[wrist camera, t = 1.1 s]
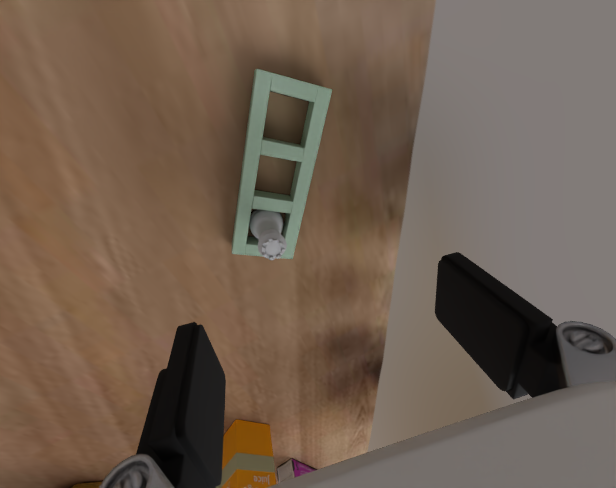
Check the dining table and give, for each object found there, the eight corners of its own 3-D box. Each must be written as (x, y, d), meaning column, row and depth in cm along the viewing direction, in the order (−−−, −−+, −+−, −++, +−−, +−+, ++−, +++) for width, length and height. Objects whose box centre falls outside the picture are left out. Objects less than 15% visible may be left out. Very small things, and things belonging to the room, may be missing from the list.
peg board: (231, 244, 39) (231, 254, 37) (254, 69, 31) (256, 68, 28) (289, 250, 42) (292, 259, 39) (325, 89, 33) (332, 89, 31)
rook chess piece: (287, 228, 40) (299, 257, 33) (257, 241, 40) (263, 273, 33) (274, 200, 38) (284, 224, 31) (242, 214, 37) (245, 242, 31)
